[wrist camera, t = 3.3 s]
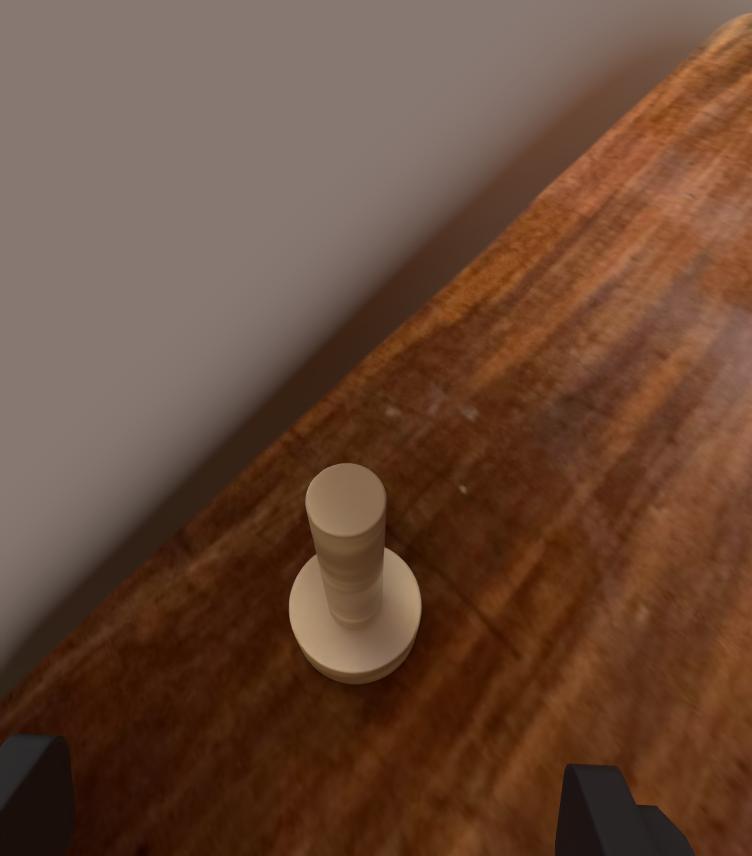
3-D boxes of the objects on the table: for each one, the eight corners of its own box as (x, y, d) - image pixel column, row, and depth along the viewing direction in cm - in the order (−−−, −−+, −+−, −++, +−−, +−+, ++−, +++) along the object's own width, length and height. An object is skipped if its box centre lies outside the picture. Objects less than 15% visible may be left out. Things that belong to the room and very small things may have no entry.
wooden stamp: (318, 705, 24) (278, 633, 14) (280, 585, 26) (220, 447, 16) (437, 655, 25) (482, 553, 15) (390, 544, 27) (400, 389, 17)
